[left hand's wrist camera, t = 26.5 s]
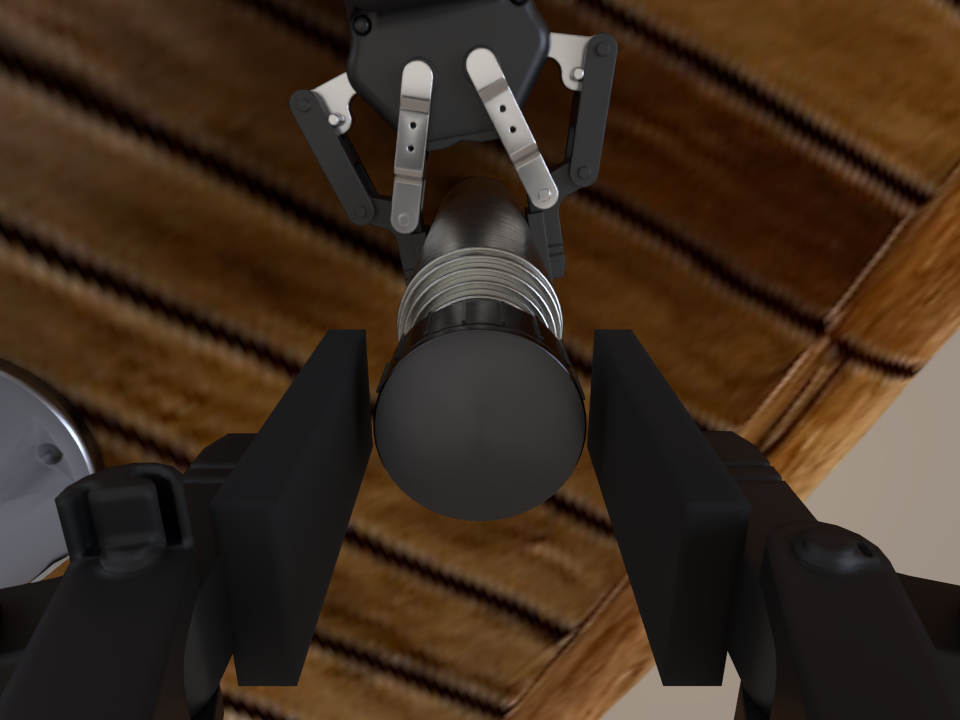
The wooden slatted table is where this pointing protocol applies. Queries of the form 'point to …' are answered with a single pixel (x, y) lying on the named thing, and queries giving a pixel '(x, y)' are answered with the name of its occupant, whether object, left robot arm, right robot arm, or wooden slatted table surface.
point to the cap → (479, 412)
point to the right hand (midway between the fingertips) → (490, 296)
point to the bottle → (480, 258)
